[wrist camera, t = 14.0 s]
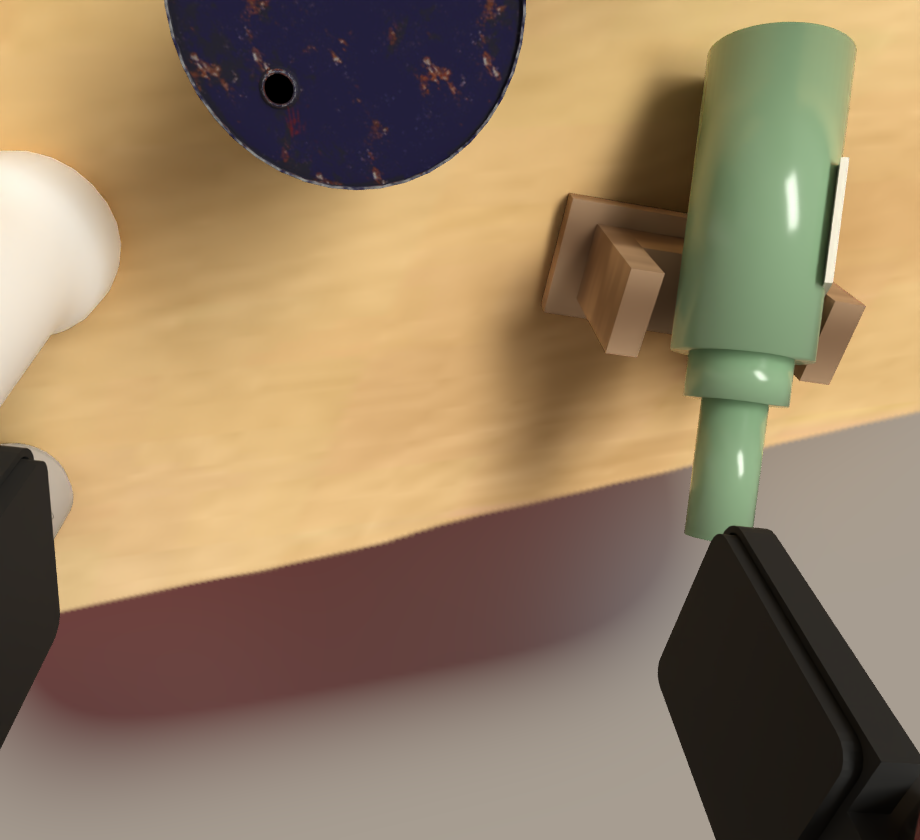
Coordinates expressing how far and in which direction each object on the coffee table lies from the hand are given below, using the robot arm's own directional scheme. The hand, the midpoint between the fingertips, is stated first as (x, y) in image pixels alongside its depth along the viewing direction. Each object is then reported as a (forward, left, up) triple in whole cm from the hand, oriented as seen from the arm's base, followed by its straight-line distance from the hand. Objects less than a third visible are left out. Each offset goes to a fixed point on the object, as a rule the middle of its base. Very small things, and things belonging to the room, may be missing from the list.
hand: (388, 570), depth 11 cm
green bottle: (-7, +16, -28) cm, 33 cm away
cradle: (+4, +16, -30) cm, 34 cm away
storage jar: (-6, -2, -31) cm, 31 cm away
